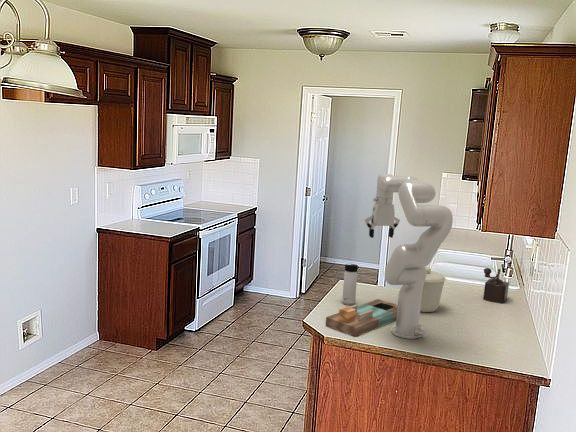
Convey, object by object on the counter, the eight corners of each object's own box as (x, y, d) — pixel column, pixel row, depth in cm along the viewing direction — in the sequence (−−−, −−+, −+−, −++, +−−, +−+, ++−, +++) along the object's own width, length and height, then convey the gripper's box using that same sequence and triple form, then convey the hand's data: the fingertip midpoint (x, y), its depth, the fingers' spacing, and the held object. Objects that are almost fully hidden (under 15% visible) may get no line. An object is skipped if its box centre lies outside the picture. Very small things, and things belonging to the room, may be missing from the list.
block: (354, 320, 245) (355, 309, 244) (347, 323, 241) (348, 312, 240) (345, 317, 248) (346, 306, 247) (338, 319, 244) (339, 308, 244)
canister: (449, 314, 272) (454, 271, 268) (416, 316, 266) (420, 272, 262) (429, 301, 289) (433, 261, 285) (397, 303, 283) (401, 262, 279)
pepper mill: (486, 294, 306) (489, 262, 303) (507, 299, 300) (511, 266, 297) (478, 302, 293) (482, 268, 290) (501, 306, 287) (505, 272, 284)
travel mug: (345, 305, 275) (348, 265, 272) (340, 301, 282) (343, 262, 278) (357, 305, 277) (360, 265, 273) (352, 301, 283) (355, 262, 280)
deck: (405, 316, 266) (407, 301, 264) (355, 336, 237) (356, 320, 236) (377, 306, 276) (378, 293, 275) (325, 325, 248) (326, 310, 246)
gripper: (369, 202, 257) (366, 239, 260) (404, 202, 262) (401, 238, 265) (363, 199, 264) (360, 235, 267) (397, 200, 269) (394, 235, 272)
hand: (381, 237), depth 266 cm, fingers open, 9 cm apart
